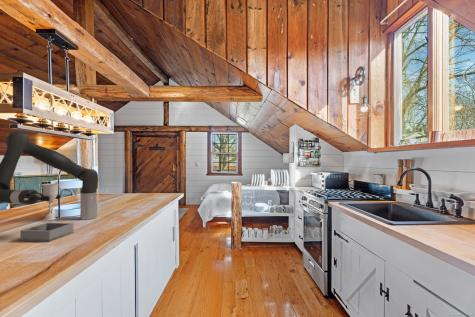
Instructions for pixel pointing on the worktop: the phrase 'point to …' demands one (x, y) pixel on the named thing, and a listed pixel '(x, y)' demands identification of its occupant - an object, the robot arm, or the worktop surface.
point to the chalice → (52, 192)
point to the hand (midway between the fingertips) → (54, 197)
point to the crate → (46, 232)
